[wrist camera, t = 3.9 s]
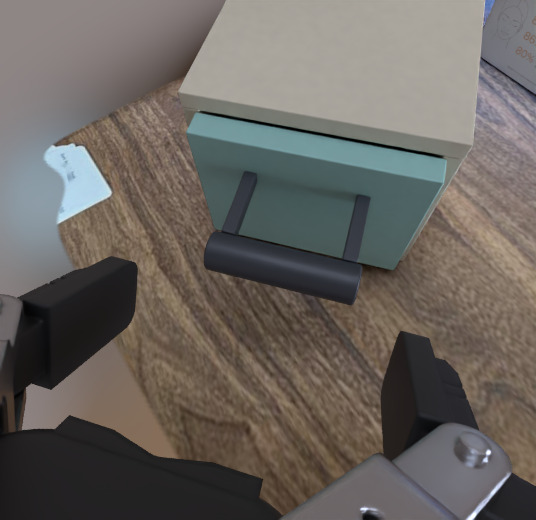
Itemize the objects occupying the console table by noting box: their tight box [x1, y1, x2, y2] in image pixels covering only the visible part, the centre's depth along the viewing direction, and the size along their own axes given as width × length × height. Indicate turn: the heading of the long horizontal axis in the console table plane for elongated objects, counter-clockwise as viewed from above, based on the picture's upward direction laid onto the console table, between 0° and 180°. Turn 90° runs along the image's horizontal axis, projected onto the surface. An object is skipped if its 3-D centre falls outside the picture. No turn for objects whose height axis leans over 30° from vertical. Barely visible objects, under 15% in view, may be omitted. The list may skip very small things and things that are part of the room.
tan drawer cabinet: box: [178, 0, 485, 261], centre depth 23 cm, size 16×12×10 cm
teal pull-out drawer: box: [186, 113, 447, 305], centre depth 21 cm, size 19×10×8 cm, turn 164°
